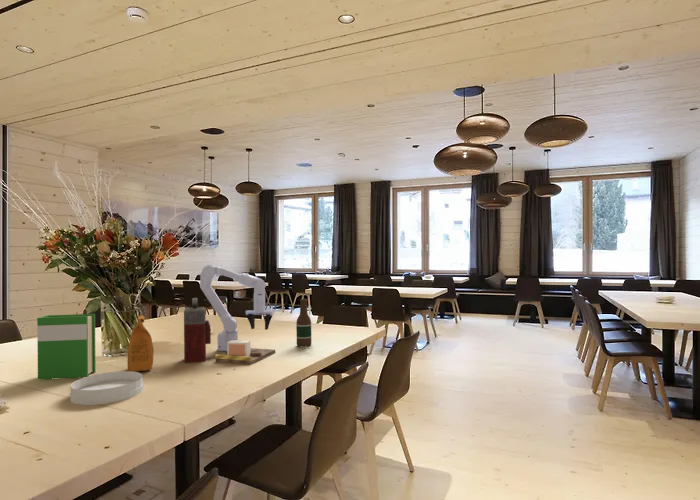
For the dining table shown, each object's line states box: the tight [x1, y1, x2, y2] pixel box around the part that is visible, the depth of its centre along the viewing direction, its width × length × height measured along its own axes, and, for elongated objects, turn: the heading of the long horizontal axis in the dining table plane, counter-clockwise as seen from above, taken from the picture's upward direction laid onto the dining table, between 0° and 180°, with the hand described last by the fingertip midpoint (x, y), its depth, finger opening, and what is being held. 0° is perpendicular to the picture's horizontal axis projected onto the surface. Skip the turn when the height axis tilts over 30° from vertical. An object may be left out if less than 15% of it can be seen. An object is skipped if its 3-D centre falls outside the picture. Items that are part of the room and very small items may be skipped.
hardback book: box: [36, 313, 97, 380], centre depth 169 cm, size 18×7×24 cm, turn 98°
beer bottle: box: [295, 298, 312, 348], centre depth 219 cm, size 8×8×24 cm
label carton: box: [227, 339, 251, 357], centre depth 190 cm, size 9×5×7 cm, turn 84°
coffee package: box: [127, 315, 155, 373], centre depth 177 cm, size 10×12×22 cm
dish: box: [69, 370, 144, 406], centre depth 147 cm, size 22×22×5 cm
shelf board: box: [214, 347, 276, 365], centre depth 196 cm, size 18×22×3 cm
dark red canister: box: [183, 297, 212, 364], centre depth 192 cm, size 9×11×28 cm
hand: (259, 329), depth 215 cm, fingers open, 7 cm apart
